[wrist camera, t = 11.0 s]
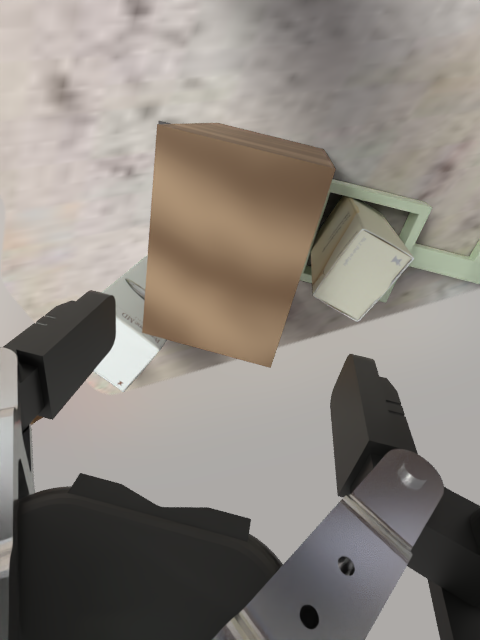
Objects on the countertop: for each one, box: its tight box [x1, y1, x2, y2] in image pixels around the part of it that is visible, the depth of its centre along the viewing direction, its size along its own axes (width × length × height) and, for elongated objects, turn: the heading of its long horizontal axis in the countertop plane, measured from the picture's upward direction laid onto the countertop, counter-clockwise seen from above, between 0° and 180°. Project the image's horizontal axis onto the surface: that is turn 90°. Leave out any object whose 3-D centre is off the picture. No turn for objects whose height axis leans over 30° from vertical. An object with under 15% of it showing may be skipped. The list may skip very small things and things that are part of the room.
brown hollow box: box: [142, 123, 336, 367], centre depth 29 cm, size 14×10×15 cm
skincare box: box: [311, 195, 414, 322], centre depth 30 cm, size 6×4×12 cm
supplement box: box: [93, 255, 167, 392], centre depth 37 cm, size 7×7×13 cm
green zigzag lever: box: [300, 179, 480, 303], centre depth 28 cm, size 17×18×10 cm
